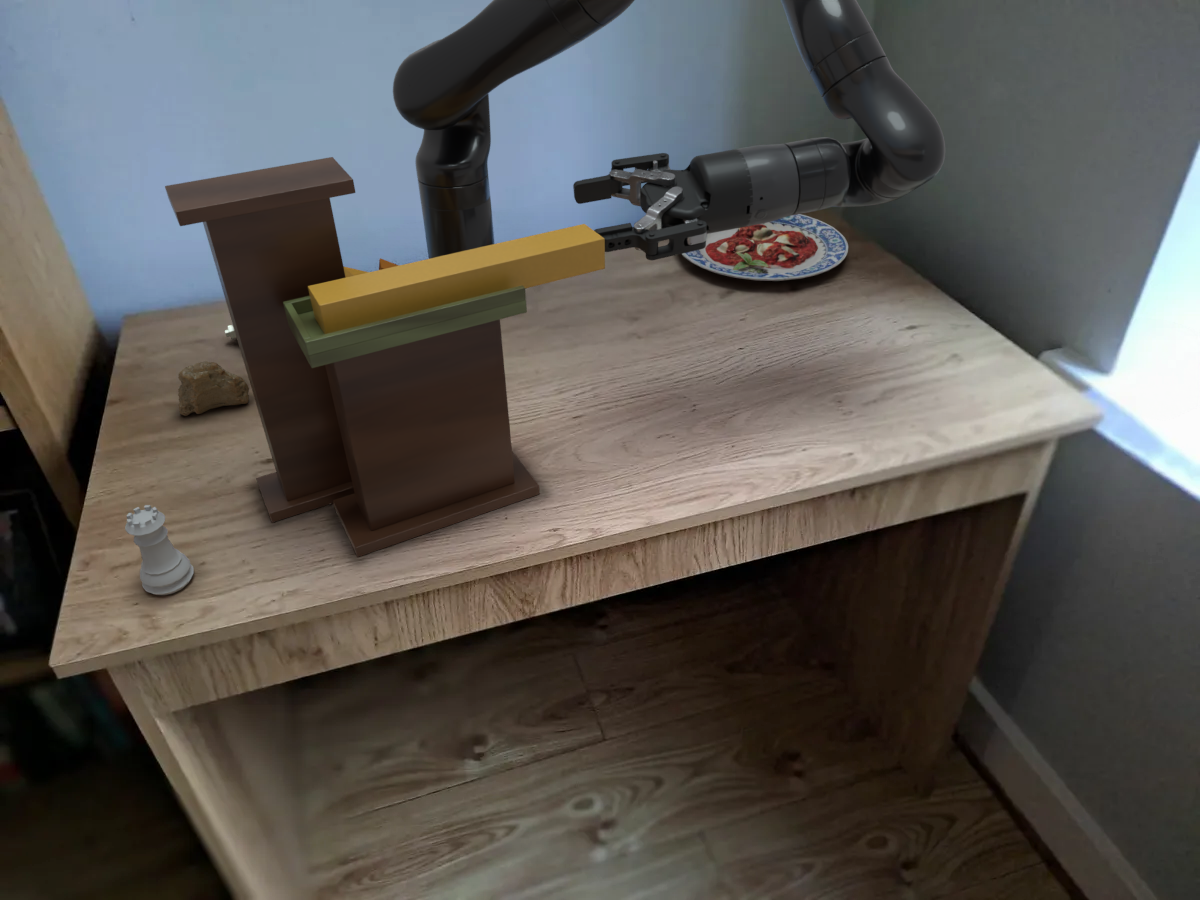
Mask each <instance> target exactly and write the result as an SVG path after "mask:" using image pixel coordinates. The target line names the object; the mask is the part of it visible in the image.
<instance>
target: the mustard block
mask: <svg viewBox="0 0 1200 900" xmlns="http://www.w3.org/2000/svg"><path fill="white" fill-rule="evenodd" d="M594 230H595V229H593V228H591V227H589V225H587V224H586V223H581V224H576V225H573V226H568V227H564V228H560V229H555V230H551V231H546V232H542V233H537V234H534V235H533V234H532V235H529V236H524V237H519V238H515V239H511V240H506V241H501V242H497V243H495V244H492V245H488V246H484V247H479V248H475V249H470V250H466V251H461V252H457V253H453V254H448V255H444V256H439V257H435V258H430V259H429V258H427V259H421V260H417V261H413V262H409V263H405V264H398V265H399V266H395V267H391V268H386V269H382V270H379V269H378V270H373V271H367V272H368V273H364V274H360V275H355V276H351V277H346V278H342V279H337V280H333V281H329V282H324V283H320V284H315V285H311V286H308V291H309V295H310V299H311V304H312V308H313V312H314V317H315V319H316V321H317V322H318V324H319V326H320V327H321V329H322V331H323V332H324V334H328V333H332V332H336V331H340V330H344V329H348V328H352V327H356V326H360V325H364V324H368V323H372V322H376V321H380V320H384V319H388V318H392V317H396V316H400V315H404V314H409V313H413V312H417V311H421V310H425V309H429V308H433V307H437V306H441V305H445V304H449V303H453V302H457V301H461V300H465V299H469V298H473V297H477V296H481V295H485V294H489V293H493V292H497V291H501V290H505V289H509V288H513V287H517V286H522V285H523V286H524V287H525V289H529V288H533V287H537V286H542V285H546V284H550V283H553V282H557V281H562V280H564V279H565V280H566V279H571V278H574V277H578V276H581V275H584V274H589V273H593V272H597V271H601V270H605V269H606V252H605V239H604V238H603V237H602V236H600V235H599V234H598V233H596V232H595V231H594Z"/></svg>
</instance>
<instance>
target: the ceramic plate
mask: <svg viewBox="0 0 1200 900" xmlns="http://www.w3.org/2000/svg"><path fill="white" fill-rule="evenodd" d="M848 252H849V244H848V241H847V239H846V237H845V236H844V235H843V234H842V233H841V232H840V231H839V230H838V229H836V228H835V227H834V226H832V225H830V224H828V223H826V222H824V221H822V220H820V219H817V218H814V217H812V216H808V215H806V214H797V215H792V216H787V217H784V218H781V219H778V220H775V221H772V222H768V223H763V224H757V225H752V226H746V227H741V228H736V229H731V230H725V231H720V232H715V233H709V234H707V238H706V247H705V248H704V249H700V250H696V251H691V252H687V253H683V254H681V255H682V257H683V258H684V259H686V260H687V261H689V262H690V263H692V264H694V265H696V266H697V267H699V268H701V269H704V270H706V271H709V272H712V273H715V274H717V275H721V276H727V277H730V278H736V279H742V280H751V281H770V282H771V281H772V282H780V281H790V280H801V279H805V278H810V277H813V276H818V275H820V274H823V273H826V272H829V271H830V270H833V269H834V268H836V267H837V266H839V265H840V264H842V262H844V260H845V259H846V258H847V255H848Z"/></svg>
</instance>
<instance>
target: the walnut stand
mask: <svg viewBox="0 0 1200 900" xmlns="http://www.w3.org/2000/svg"><path fill="white" fill-rule="evenodd" d="M355 187H356V186H355V183H354V179H353V177H352V176H350V174H349V173H348V172H347V171H346V170H345V169H344V167H342V165H340V163H339V162H338V161H337V160H336V159H335V158H334V157H333V156H330V157H324V158H318V159H312V160H307V161H301V162H296V163H290V164H284V165H278V166H272V167H267V168H261V169H255V170H249V171H244V172H238V173H231V174H225V175H220V176H214V177H209V178H203V179H196V180H192V181H191V180H190V181H185V182H181V183H174V184H168V185H164V188H165V192H166V196H167V199H168V201H169V203H170V207H171V208H172V210H173V213H174V215H175V219H176V220H177V222H178V225H179V226H180V227H184V226H191V225H195V224H200V223H202V226H203V228H204V231H205V234H206V238H207V242H208V245H209V248H210V251H211V255H212V258H213V261H214V265H215V269H216V272H217V276H218V279H219V282H220V286H221V289H222V292H223V296H224V299H225V302H226V306H227V309H228V313H229V316H230V317H229V318H230V321H231V324H232V323H233V324H232V325H233V327H234V330H235V334H236V337H237V338H236V340H237V344H238V347H239V350H240V354H241V357H242V360H243V364H244V367H245V371H246V375H247V378H248V381H249V384H250V387H251V391H252V394H253V398H254V401H255V405H256V409H257V411H258V416H259V418H260V422H261V425H262V428H263V432H264V435H265V439H266V442H267V445H268V449H269V452H270V456H271V459H272V463H273V467H274V470H275V472H271V473H268V474H265V475H262V476H261V475H260V476H258V477H255V478H256V484H257V486H258V489H259V492H260V494H261V497H262V499H263V502H264V505H265V508H266V510H267V513H268V515H269V519H270V521H271V523H275V522H279V521H281V520H285V519H288V518H291V517H295V516H297V515H300V514H304V513H306V512H310V511H314V510H316V509H319V508H322V507H325V506H329V505H332V504H333V508H334V511H335V512H336V515H337V516H338V519H339V521H340V523H341V525H342V527H343V529H344V531H345V534H346V536H347V538H348V540H349V543H351V547H352V549H353V551H354V553H355V556H356V557H357V558H359V557H362V556H364V555H368V554H371V553H374V552H377V551H380V550H383V549H385V548H388V547H391V546H394V545H397V544H401V543H403V542H406V541H408V540H411V539H414V538H417V537H420V536H423V535H425V534H428V533H431V532H434V531H437V530H440V529H443V528H445V527H448V526H451V525H452V526H453V525H455V524H457V523H460V522H464V521H467V520H469V519H471V518H475V517H477V516H481V515H483V514H486V513H489V512H492V511H495V510H497V509H501V508H503V507H504V508H505V507H506V506H509V505H512V504H515V503H519V502H521V501H524V500H527V499H530V498H533V497H535V496H538V495H540V494H541V493H540V484H538V482H537V481H536V479H535V478H534V477H533V475H532V474H531V473H530V472H529V470H528V469H527V468H526V466H525V465H524V464H523V462H522V461H521V460H520V459H519V458H518V456H517V455H516V454H515V453H514V451H513V448H512V438H511V427H510V416H509V414H510V413H509V405H508V394H507V382H506V372H505V361H504V349H503V338H502V328H501V327H502V326H501V320H502V319H506V318H507V319H508V318H510V317H514V316H518V315H522V314H525V313H527V312H528V310H527V294H526V288H525V287H524V286H523V285H522V286H517V287H513V288H509V289H505V290H501V291H497V292H493V293H489V294H485V295H481V296H477V297H473V298H469V299H465V300H461V301H457V302H453V303H449V304H445V305H441V306H437V307H433V308H429V309H425V310H421V311H417V312H413V313H409V314H404V315H400V316H396V317H392V318H388V319H384V320H380V321H376V322H372V323H368V324H364V325H360V326H356V327H352V328H348V329H344V330H340V331H336V332H332V333H328V334H324V332H323V331H322V329H321V327H320V326H319V324H318V322H317V321H316V319H315V317H314V312H313V308H312V304H311V299H310V295H309V291H308V286H311V285H315V284H320V283H324V282H329V281H333V280H337V279H342V278H346V277H345V272H344V267H345V266H344V261H343V257H342V252H341V247H340V242H339V237H338V232H337V227H336V222H335V218H334V217H335V216H334V212H333V208H332V203H331V198H336V197H341V196H342V197H343V196H347V195H352V194H356V188H355ZM343 266H344V267H343Z"/></svg>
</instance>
